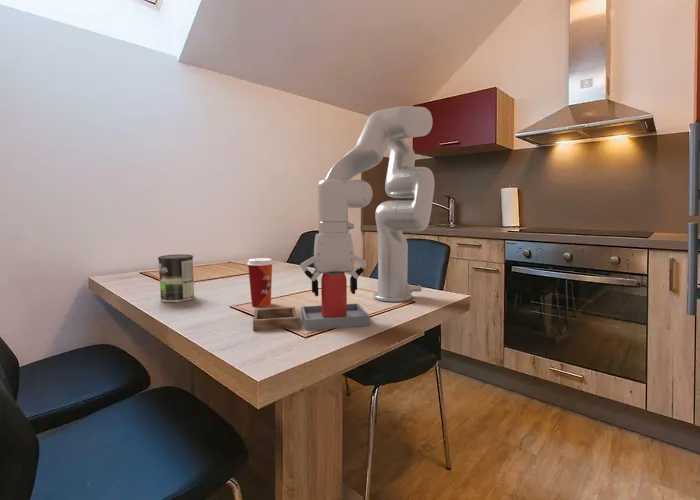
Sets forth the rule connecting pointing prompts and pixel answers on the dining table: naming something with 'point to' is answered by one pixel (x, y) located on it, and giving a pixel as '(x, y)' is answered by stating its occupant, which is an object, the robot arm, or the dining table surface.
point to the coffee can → (176, 278)
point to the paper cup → (260, 281)
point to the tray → (317, 321)
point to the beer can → (334, 295)
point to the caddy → (275, 318)
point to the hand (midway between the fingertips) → (334, 294)
